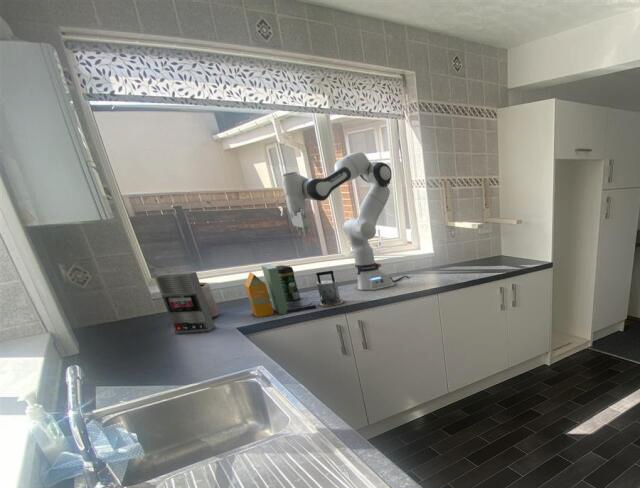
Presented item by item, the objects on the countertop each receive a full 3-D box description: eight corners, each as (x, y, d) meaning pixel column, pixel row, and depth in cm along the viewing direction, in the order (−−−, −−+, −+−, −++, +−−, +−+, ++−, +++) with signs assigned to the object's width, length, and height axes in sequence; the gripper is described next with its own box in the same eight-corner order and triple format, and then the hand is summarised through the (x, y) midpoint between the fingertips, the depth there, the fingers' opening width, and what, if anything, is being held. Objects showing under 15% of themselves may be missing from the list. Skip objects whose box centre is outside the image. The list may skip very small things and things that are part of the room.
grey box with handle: (337, 299, 230) (330, 269, 223) (345, 303, 222) (338, 272, 214) (319, 302, 225) (312, 271, 218) (326, 307, 216) (319, 275, 209)
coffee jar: (279, 300, 234) (270, 266, 226) (292, 297, 240) (284, 263, 231) (289, 302, 229) (280, 267, 221) (302, 299, 235) (294, 265, 227)
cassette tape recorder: (175, 334, 183) (152, 276, 172) (182, 330, 188) (160, 273, 178) (209, 331, 185) (188, 274, 174) (215, 327, 190) (196, 271, 179)
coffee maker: (308, 302, 228) (298, 260, 218) (317, 307, 217) (306, 264, 208) (273, 308, 218) (261, 265, 208) (280, 314, 207) (267, 269, 198)
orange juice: (257, 317, 204) (244, 275, 195) (252, 313, 210) (240, 273, 201) (274, 313, 209) (263, 273, 200) (269, 310, 215) (258, 270, 206)
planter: (168, 325, 195) (155, 292, 188) (187, 315, 211) (175, 283, 204) (210, 322, 198) (199, 289, 191) (225, 312, 214) (215, 281, 207)
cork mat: (338, 299, 232) (338, 298, 232) (346, 303, 223) (346, 302, 223) (316, 303, 225) (316, 302, 225) (323, 307, 217) (323, 306, 217)
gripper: (310, 207, 208) (316, 237, 214) (298, 206, 223) (305, 234, 229) (296, 208, 205) (303, 238, 211) (285, 207, 219) (292, 235, 225)
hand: (304, 236), depth 220 cm, fingers open, 8 cm apart
